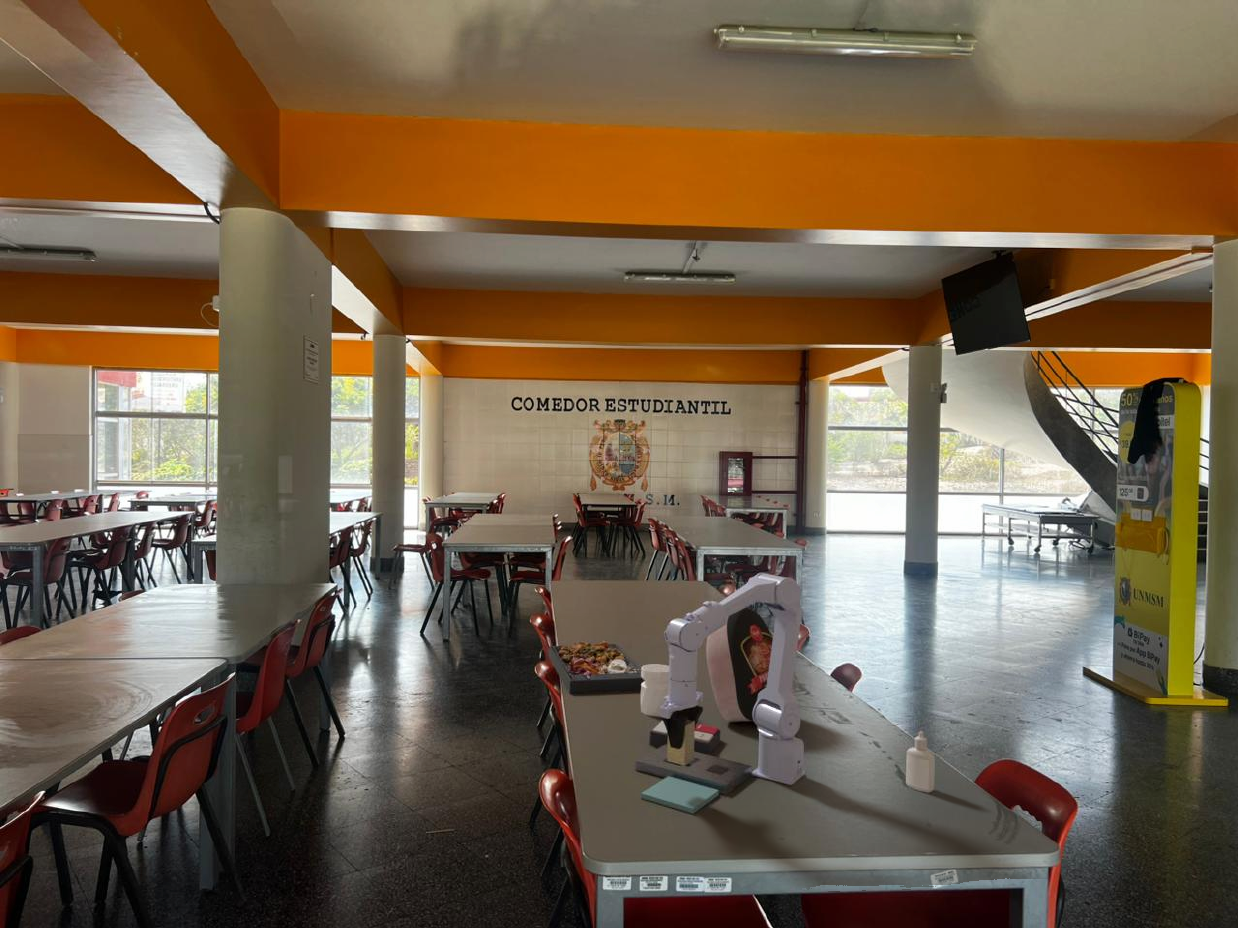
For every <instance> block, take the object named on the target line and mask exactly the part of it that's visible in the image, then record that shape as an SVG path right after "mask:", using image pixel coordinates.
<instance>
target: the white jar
mask: <svg viewBox="0 0 1238 928" xmlns="http://www.w3.org/2000/svg"><path fill="white" fill-rule="evenodd" d="M640 668H641V677H642V678H643V679H644V680H645V681H644V682H643V683H642V684H641V691H640V713H642V714H644V715H645V716H650V717H660V707H662V706H663V705H664V703H665V702H666V701H664V697H665V696H668V695H669V665H666V664H660V663H659V664H657V663H655V664H654V663H653V664H650V663H649V664H645V665H642V667H640Z"/></svg>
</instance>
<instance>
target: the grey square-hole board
mask: <svg viewBox="0 0 1238 928" xmlns="http://www.w3.org/2000/svg"><path fill="white" fill-rule="evenodd" d="M667 749H668V745H666V744H665V745H663V746H661V747H657V749H655V750H653V751H651V752H648V753H647V754H645V755H644V756H642V757H640V758H638V759H636V760H635V770H636V771H639V772H643V773H646V774H649V775H653V776H657V777H660V778H663V779H665V778H666V777H668V776H669V777H673V778H677V779H680V780H684V781H687V782H691V783H695V784H698V785H702V786H706V787H709V788H713V789H716V790H719V794H721V795H727V794H728V793H730V792H731V791H732V790H733V789H734V788H736V787H737V786H739V785H740V784H741V783H743V782H745V780H747V779H748V778H750V777H751V776H752V775H751V773H752V772H753V771H752V770H753V769H752V768H753V766H752V765H750V764H745V763H742V762H737V761H733V760H729V759H726V758H722V757H717V756H713V755H711V754H709V755H707V754H702V753H698V752H694V760H692V761H691V762H689V763H688V764H686V765H688V767H685V766H683V765H679V764H676V763H673V762H669V761H667Z"/></svg>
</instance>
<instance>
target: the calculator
mask: <svg viewBox="0 0 1238 928" xmlns="http://www.w3.org/2000/svg"><path fill="white" fill-rule="evenodd" d="M721 732H722V731H721V729H719V727H716V726H711V725H707V724H706V725H705V724H702V723H697V724H696V728H695V732H694V752H698V753H702V754H706V755H711V754H712V752H713V750H715V748H716V747H717V745H718V744H719V742H720V741H721ZM648 744H649V745H648V746H651V747H657V748H660V747H661V746H663V745H665V744H666V745H668V733H667V730H666V727H665V724H664V722H663V720H662V719H661V721H660V722H659V723H657V724H656V726H655V727H654V728H652V729H651V730H650V732H649V743H648Z"/></svg>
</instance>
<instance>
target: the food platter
mask: <svg viewBox="0 0 1238 928" xmlns="http://www.w3.org/2000/svg"><path fill="white" fill-rule="evenodd" d="M548 658H549V661H550V662H551V664H552V666H553V668H554V670H556V673H557V675H558V676H559V678H560V680H561V682H562V681H563V682H562V683H563V685H564V687H565V688H566V690H567V692H568V693H569V695H579V694H600V693H601V694H604V693H605V694H606V693H623V692H641V684H642V683H643V682H644V681H645V680H644V679H643V678H642V677H641V668H642V667H640V666H639V665H638V664H637V662H635V661H634V660H633V659H632V658H631V657H630V656H629V655H628V654H627V653H626V652H625V651H624V650H623V649H622V648H621V647H620V645H618V644H615V643H608V641H605V640H602V641H601V642H600V643H599V644H591V642H584V641H579V642H578V643H576V642H574V643H573V644H572V645H569V644H567V645H566V644H565V645H551V646H550V645H549V646H548Z"/></svg>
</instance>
